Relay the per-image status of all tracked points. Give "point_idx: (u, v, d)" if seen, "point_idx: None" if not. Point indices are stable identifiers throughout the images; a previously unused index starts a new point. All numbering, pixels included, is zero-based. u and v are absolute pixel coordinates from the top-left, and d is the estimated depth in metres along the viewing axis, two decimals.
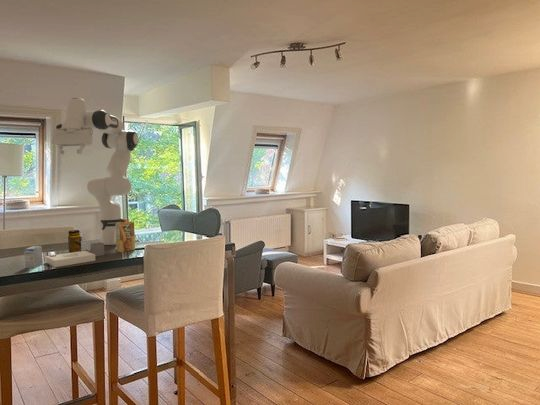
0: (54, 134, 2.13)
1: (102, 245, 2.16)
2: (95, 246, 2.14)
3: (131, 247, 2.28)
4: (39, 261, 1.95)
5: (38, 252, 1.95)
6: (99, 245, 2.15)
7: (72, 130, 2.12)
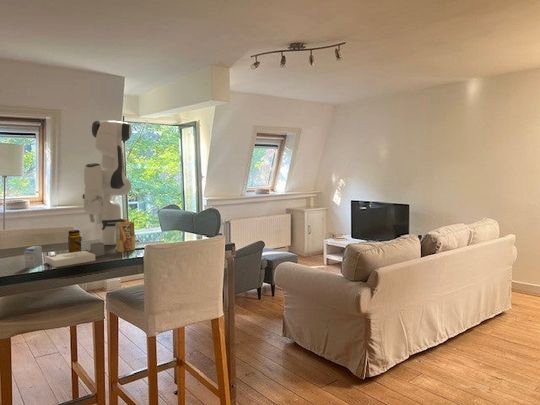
0: (84, 203, 2.20)
1: (102, 245, 2.16)
2: (95, 246, 2.14)
3: (131, 247, 2.28)
4: (39, 261, 1.95)
5: (38, 252, 1.95)
6: (99, 245, 2.15)
7: (90, 201, 2.12)
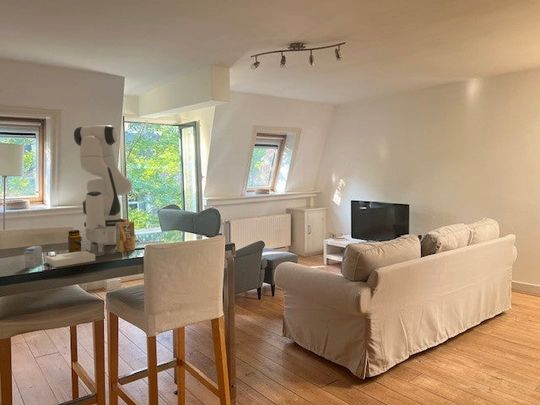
0: (85, 231, 2.21)
1: None
2: (95, 246, 2.14)
3: (131, 247, 2.28)
4: (39, 261, 1.95)
5: (38, 252, 1.95)
6: None
7: (91, 230, 2.14)
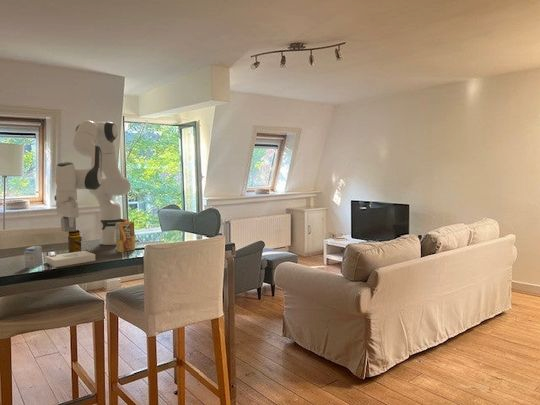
0: (56, 205, 2.06)
1: None
2: (65, 220, 1.98)
3: (131, 247, 2.28)
4: (39, 261, 1.95)
5: (38, 252, 1.95)
6: None
7: (61, 203, 1.98)
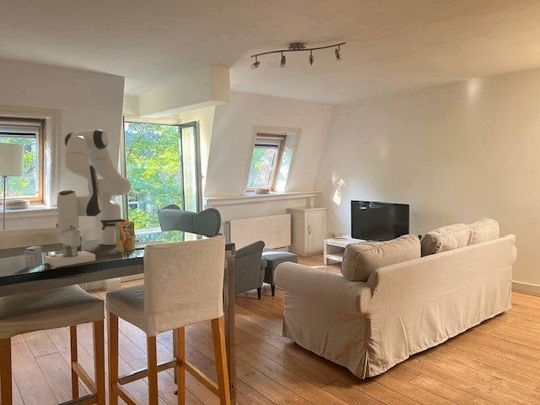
0: (58, 232, 2.07)
1: None
2: (67, 251, 2.00)
3: (131, 247, 2.28)
4: (39, 261, 1.95)
5: (38, 252, 1.95)
6: None
7: (63, 231, 1.99)
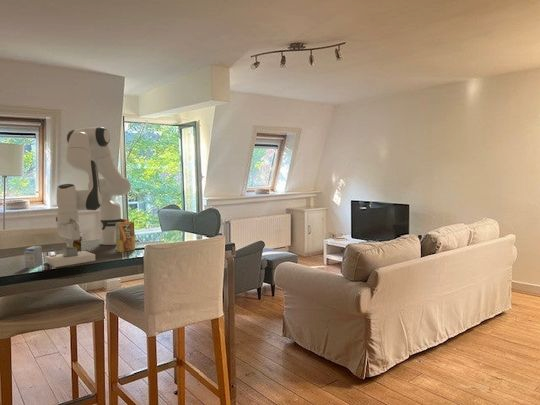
0: (58, 226, 2.06)
1: (75, 250, 2.02)
2: (67, 251, 2.00)
3: (131, 247, 2.28)
4: (39, 261, 1.95)
5: (38, 252, 1.95)
6: (72, 250, 2.01)
7: (63, 225, 1.99)
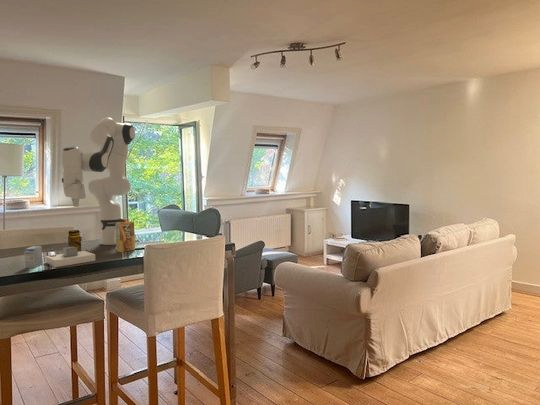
0: (64, 187, 2.19)
1: (75, 250, 2.02)
2: (67, 251, 2.00)
3: (131, 247, 2.28)
4: (39, 261, 1.95)
5: (38, 252, 1.95)
6: (72, 250, 2.01)
7: (69, 185, 2.11)
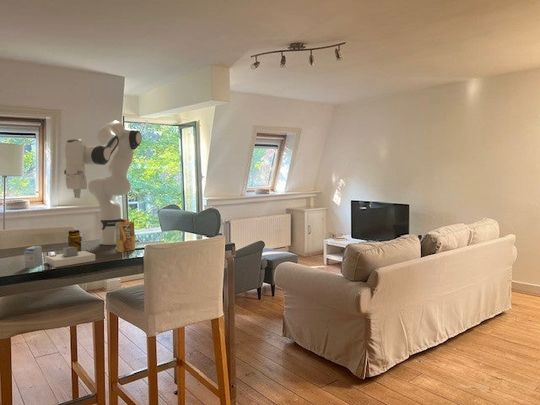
0: (66, 179, 2.23)
1: (75, 250, 2.02)
2: (67, 251, 2.00)
3: (131, 247, 2.28)
4: (39, 261, 1.95)
5: (38, 252, 1.95)
6: (72, 250, 2.01)
7: (71, 176, 2.15)
